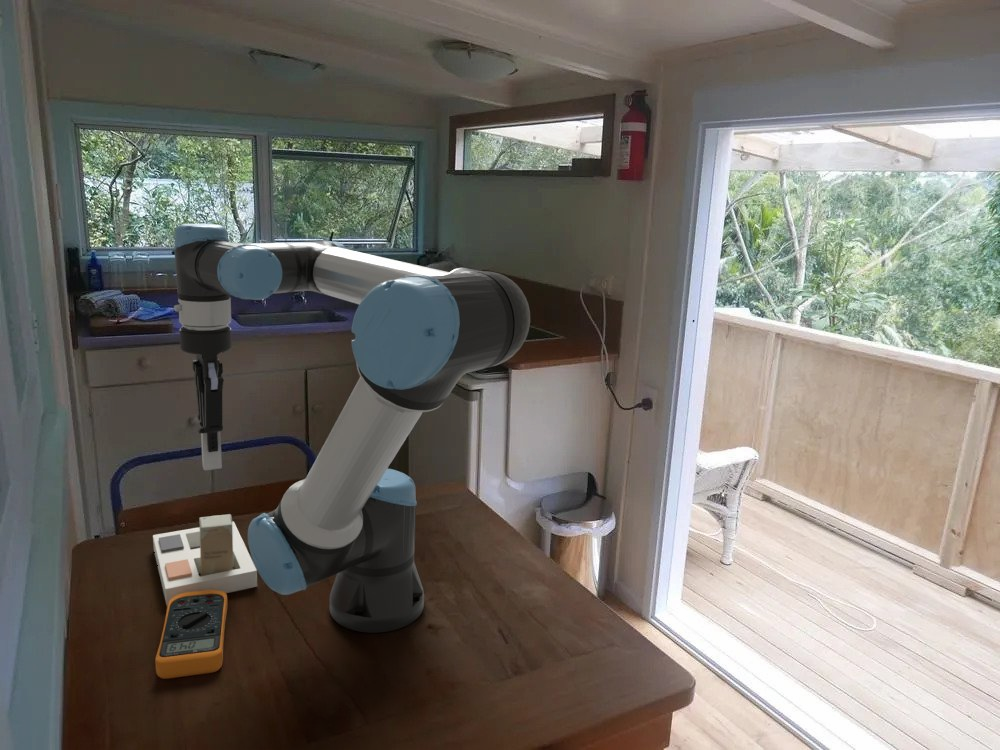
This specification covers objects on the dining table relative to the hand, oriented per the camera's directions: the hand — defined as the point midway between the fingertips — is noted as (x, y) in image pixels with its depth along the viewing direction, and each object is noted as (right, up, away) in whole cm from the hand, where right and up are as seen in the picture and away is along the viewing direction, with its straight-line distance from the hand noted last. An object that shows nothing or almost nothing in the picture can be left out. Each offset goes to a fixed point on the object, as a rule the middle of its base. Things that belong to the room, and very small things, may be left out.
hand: (212, 467), depth 120 cm
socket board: (-5, -19, +9) cm, 21 cm away
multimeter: (+2, -25, -11) cm, 27 cm away
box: (-1, -20, +5) cm, 21 cm away
